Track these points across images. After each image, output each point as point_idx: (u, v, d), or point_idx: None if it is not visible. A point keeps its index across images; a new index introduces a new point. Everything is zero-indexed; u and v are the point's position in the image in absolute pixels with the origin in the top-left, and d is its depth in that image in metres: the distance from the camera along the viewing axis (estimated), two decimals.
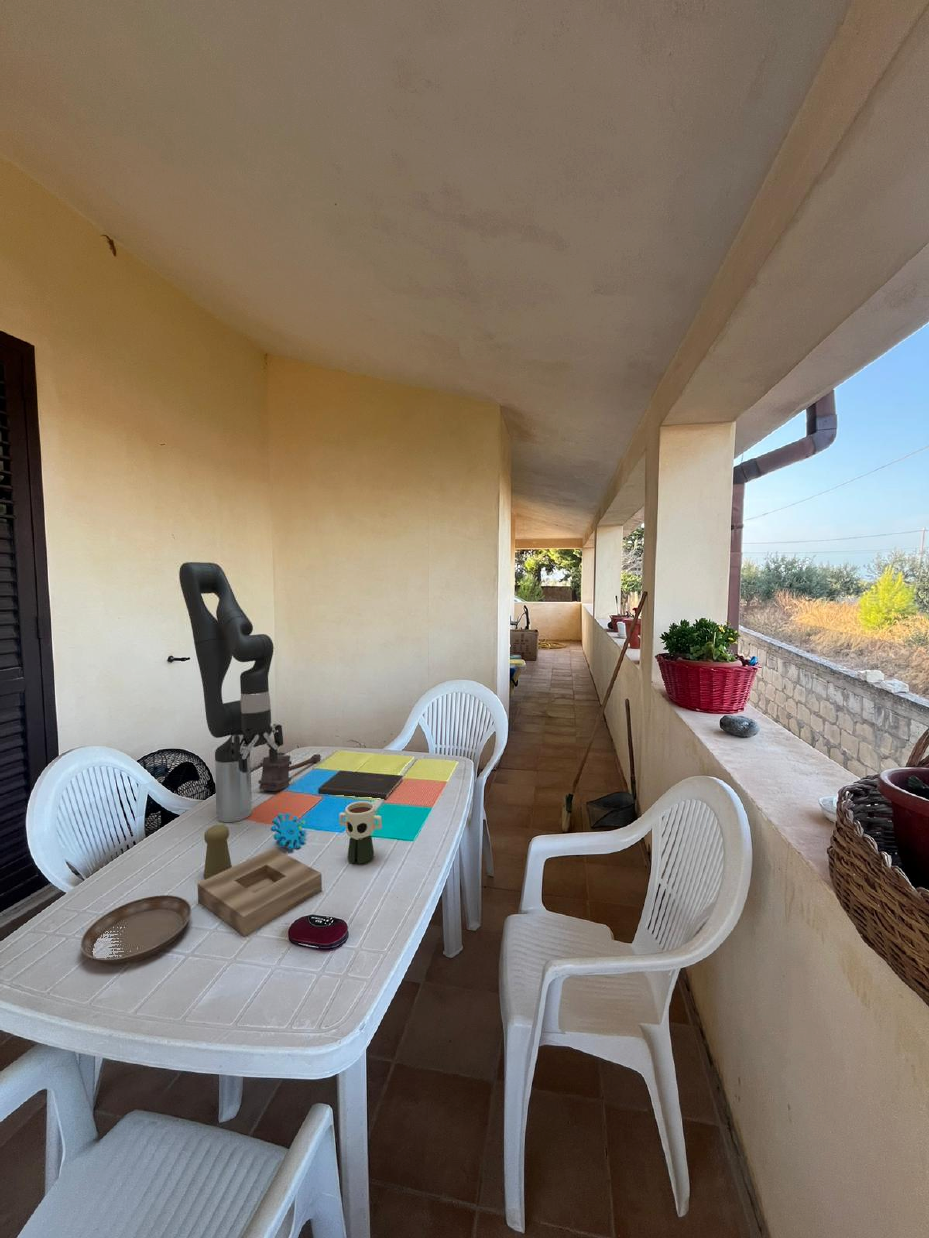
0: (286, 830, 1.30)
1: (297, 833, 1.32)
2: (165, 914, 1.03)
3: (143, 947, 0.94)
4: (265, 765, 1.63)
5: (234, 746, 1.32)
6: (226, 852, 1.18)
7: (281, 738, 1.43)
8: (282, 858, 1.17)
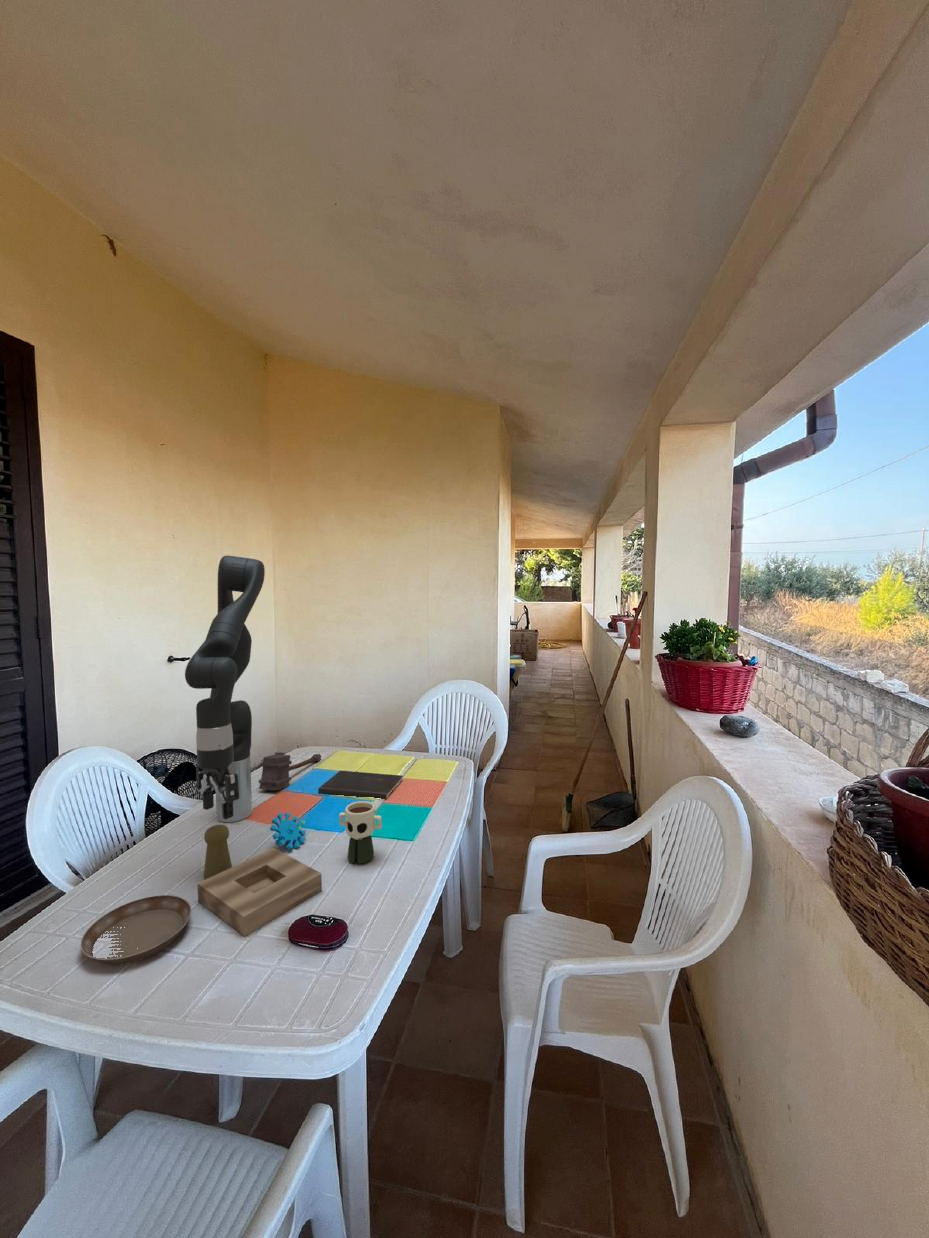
0: (285, 830, 1.30)
1: (297, 833, 1.32)
2: (165, 914, 1.03)
3: (143, 947, 0.94)
4: (265, 765, 1.64)
5: (236, 785, 1.13)
6: (226, 852, 1.18)
7: None
8: (282, 858, 1.17)
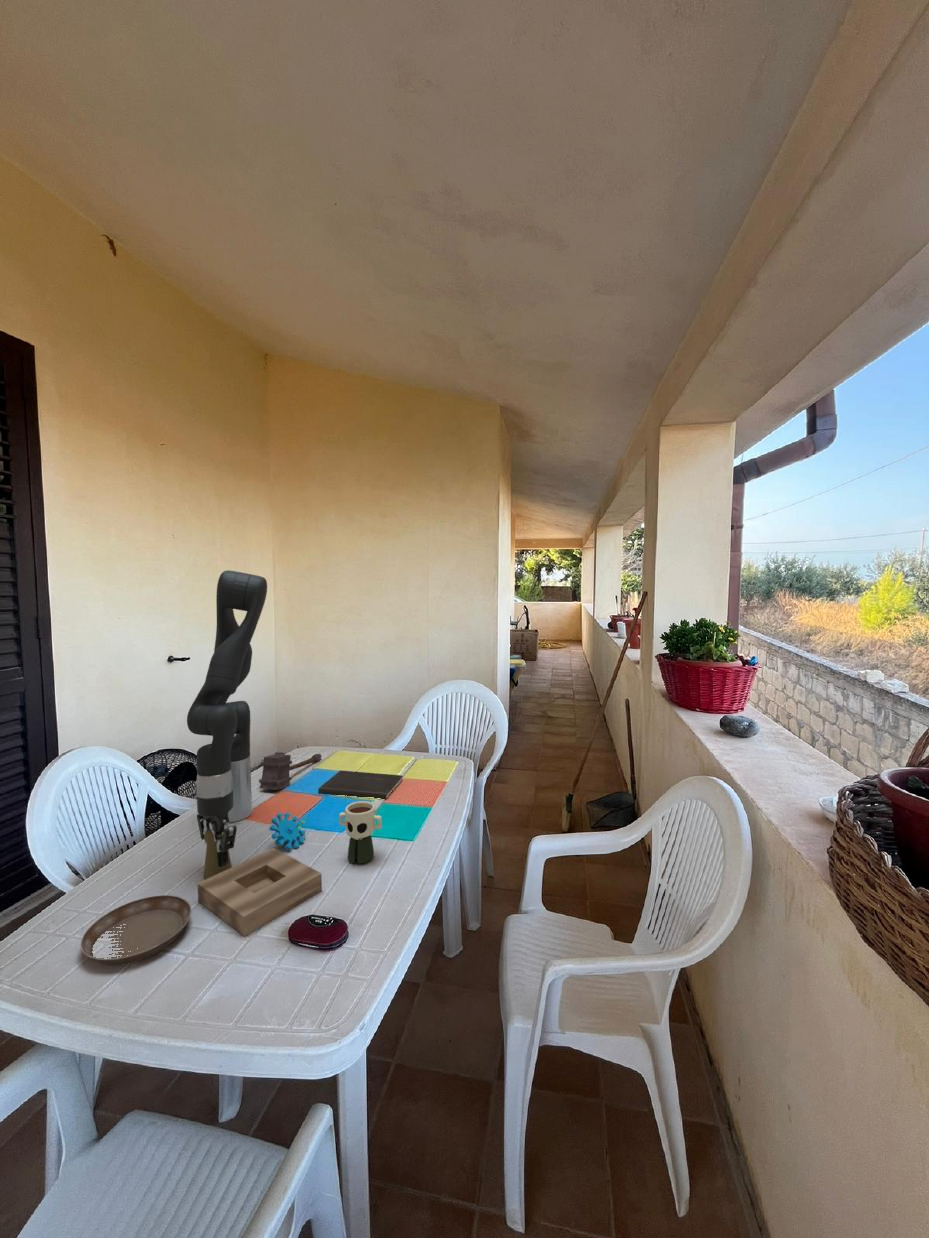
0: (285, 830, 1.30)
1: (296, 833, 1.32)
2: (165, 914, 1.03)
3: (143, 947, 0.94)
4: (266, 764, 1.64)
5: (233, 837, 1.15)
6: None
7: None
8: (282, 858, 1.17)
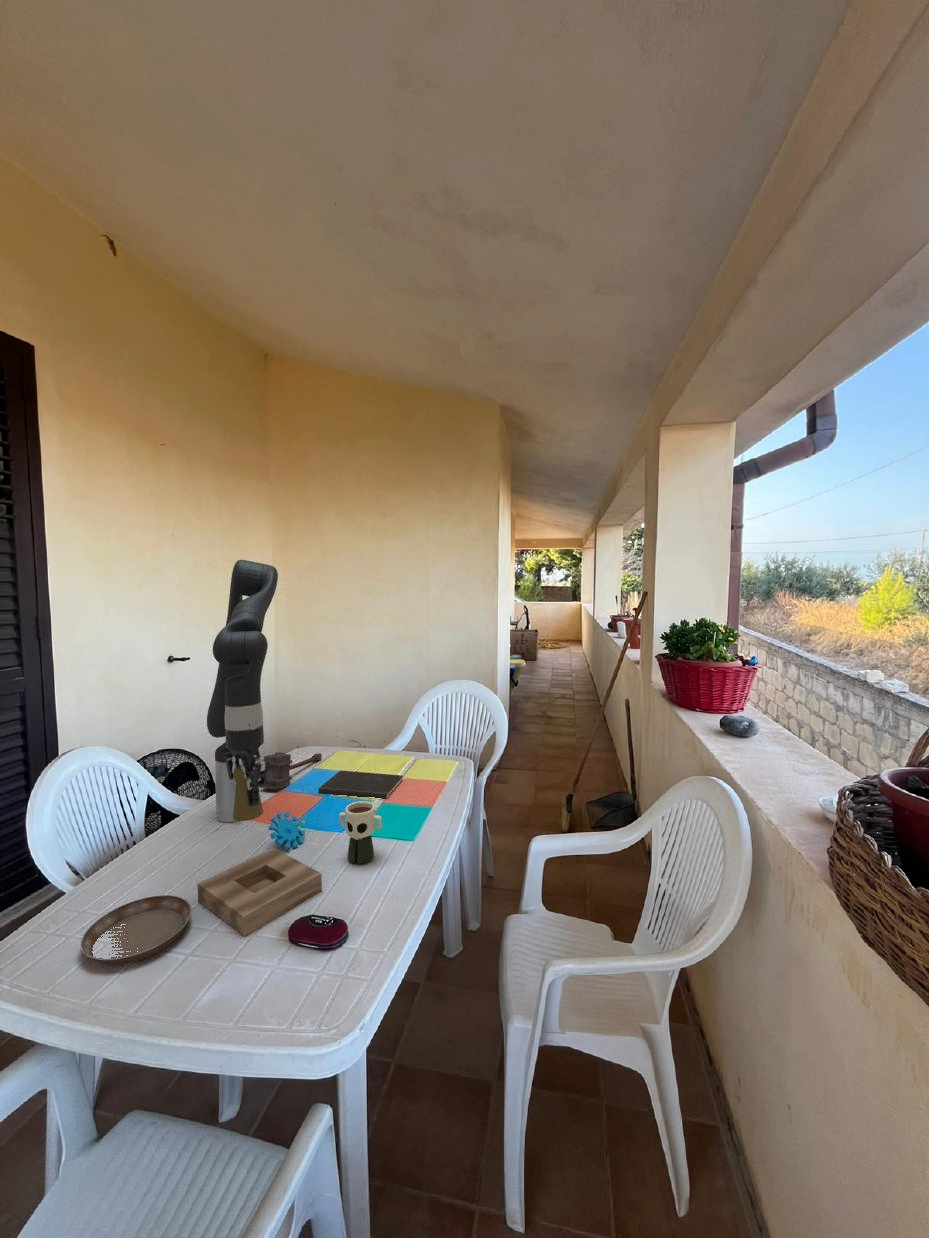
0: (284, 829, 1.30)
1: (295, 833, 1.32)
2: (165, 914, 1.03)
3: (143, 947, 0.94)
4: None
5: (265, 773, 1.07)
6: None
7: None
8: (282, 858, 1.17)
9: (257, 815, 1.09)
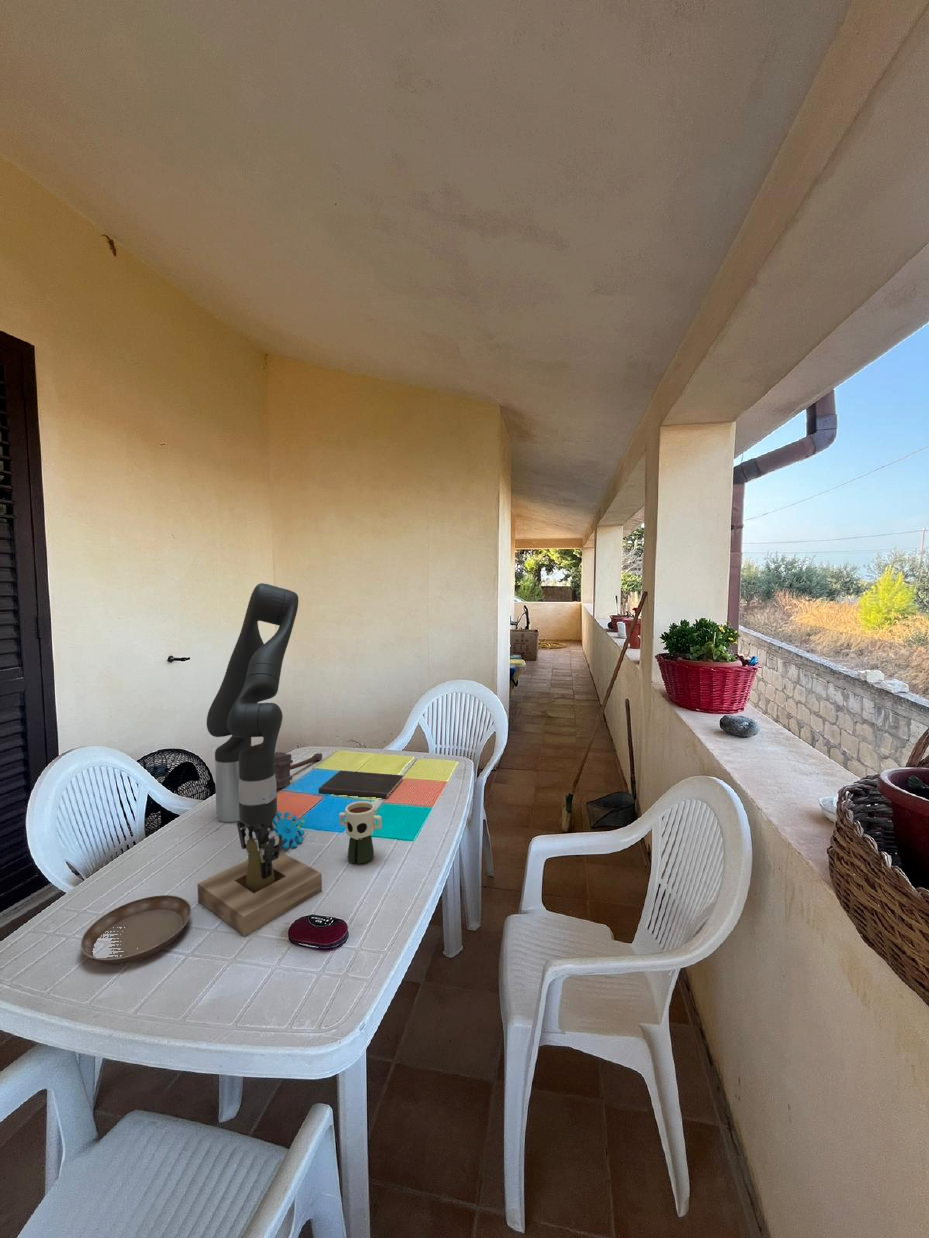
0: (283, 829, 1.30)
1: (294, 832, 1.32)
2: (165, 914, 1.03)
3: (143, 947, 0.94)
4: None
5: (278, 847, 1.06)
6: None
7: None
8: (282, 858, 1.17)
9: None
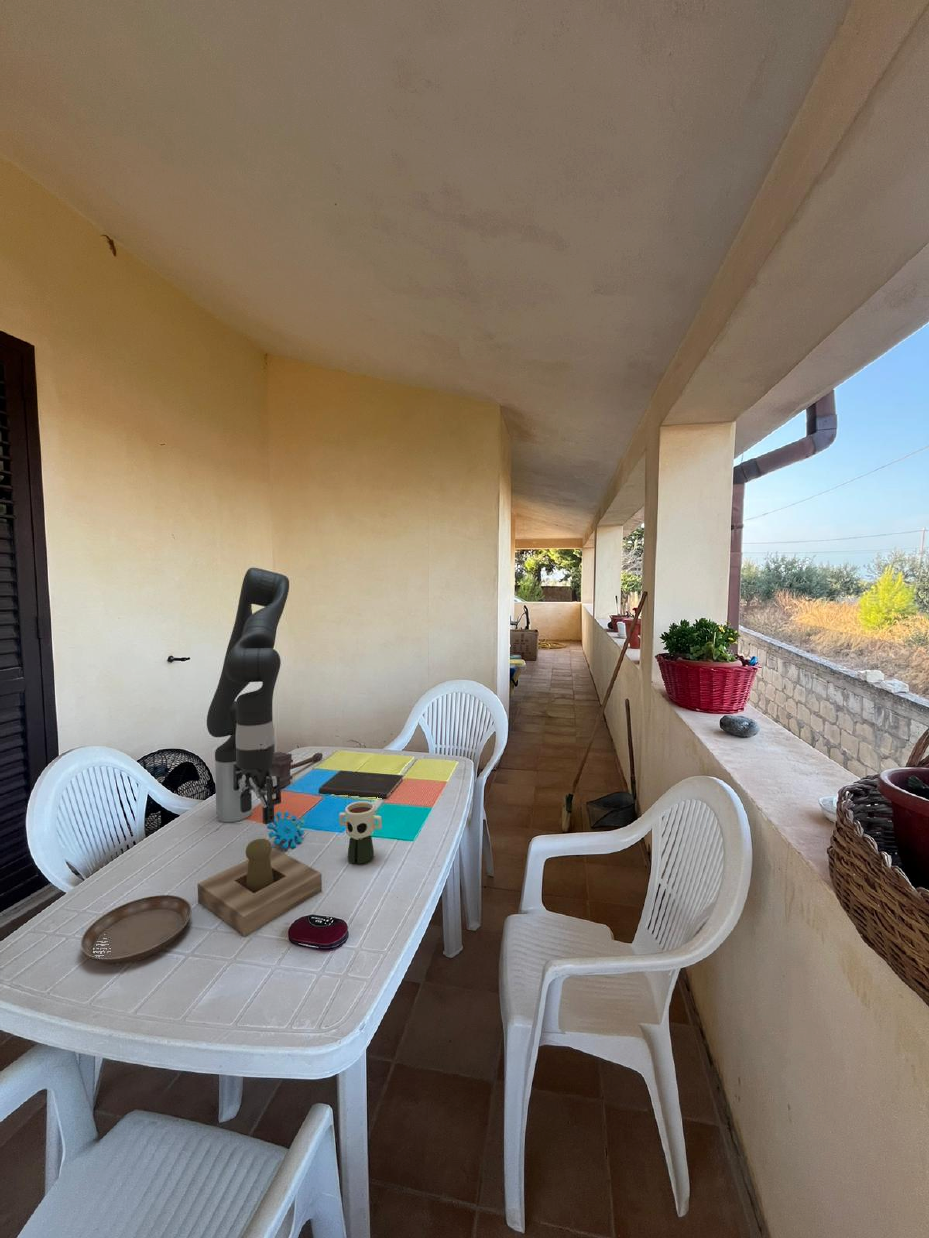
0: (283, 829, 1.31)
1: (294, 832, 1.32)
2: (165, 914, 1.03)
3: (143, 946, 0.94)
4: None
5: (278, 788, 1.04)
6: (269, 869, 1.09)
7: None
8: (282, 858, 1.17)
9: None
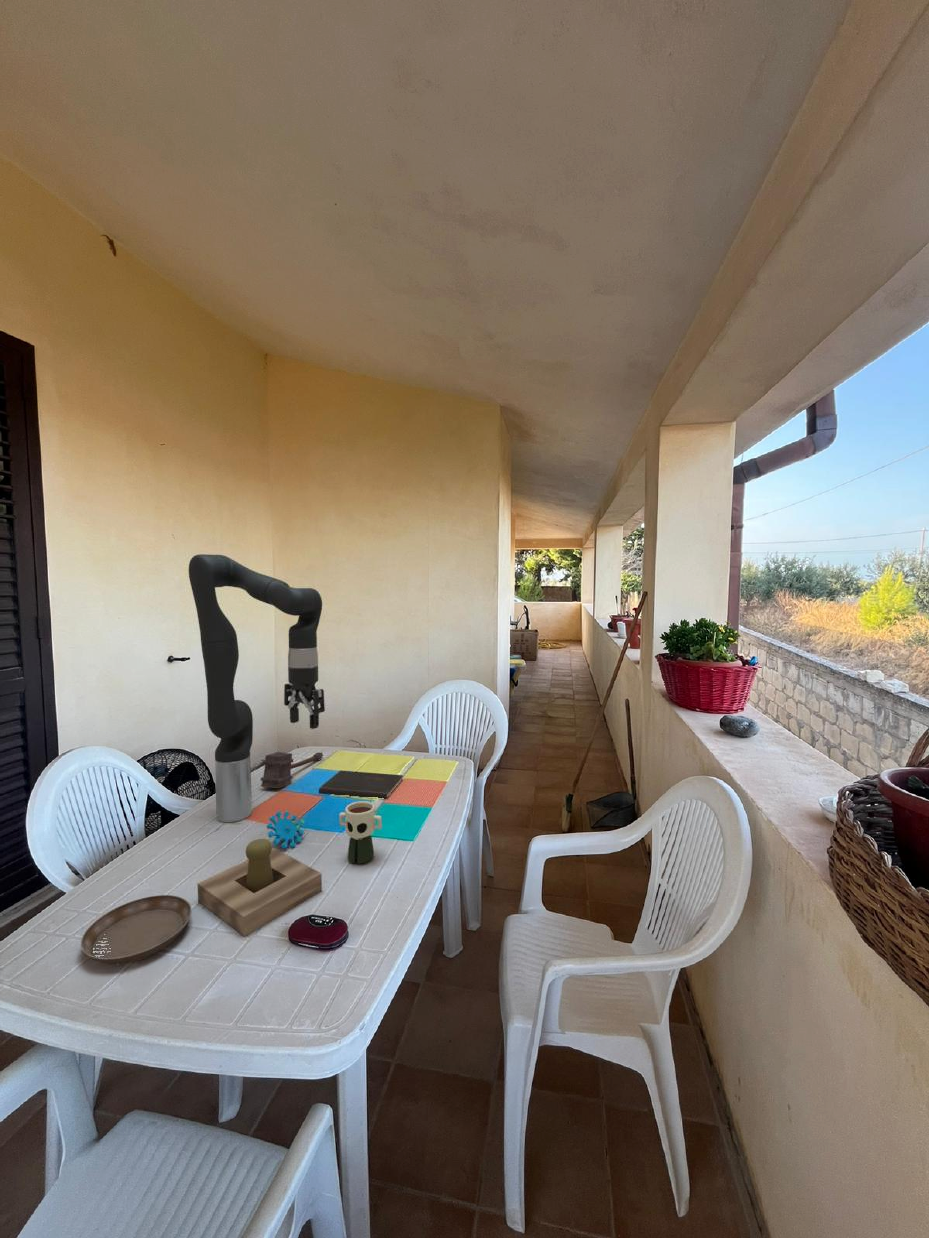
0: (282, 828, 1.31)
1: (294, 832, 1.32)
2: (164, 914, 1.03)
3: (143, 946, 0.94)
4: (267, 763, 1.66)
5: (322, 699, 1.30)
6: (269, 869, 1.09)
7: None
8: (282, 858, 1.17)
9: None
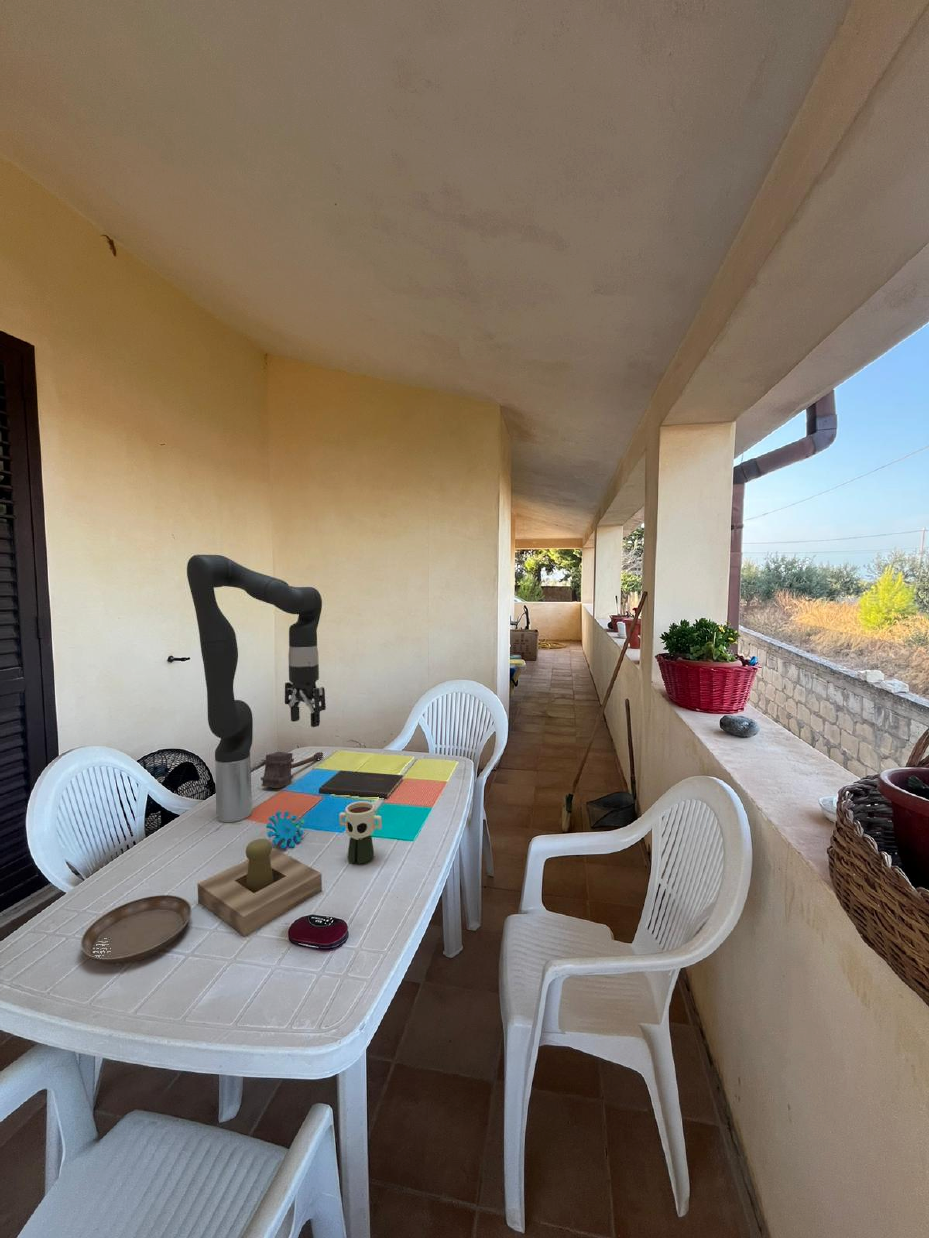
0: (282, 828, 1.31)
1: (293, 832, 1.32)
2: (164, 914, 1.03)
3: (144, 946, 0.94)
4: (268, 762, 1.66)
5: (323, 697, 1.31)
6: (269, 869, 1.09)
7: None
8: (282, 858, 1.17)
9: None
